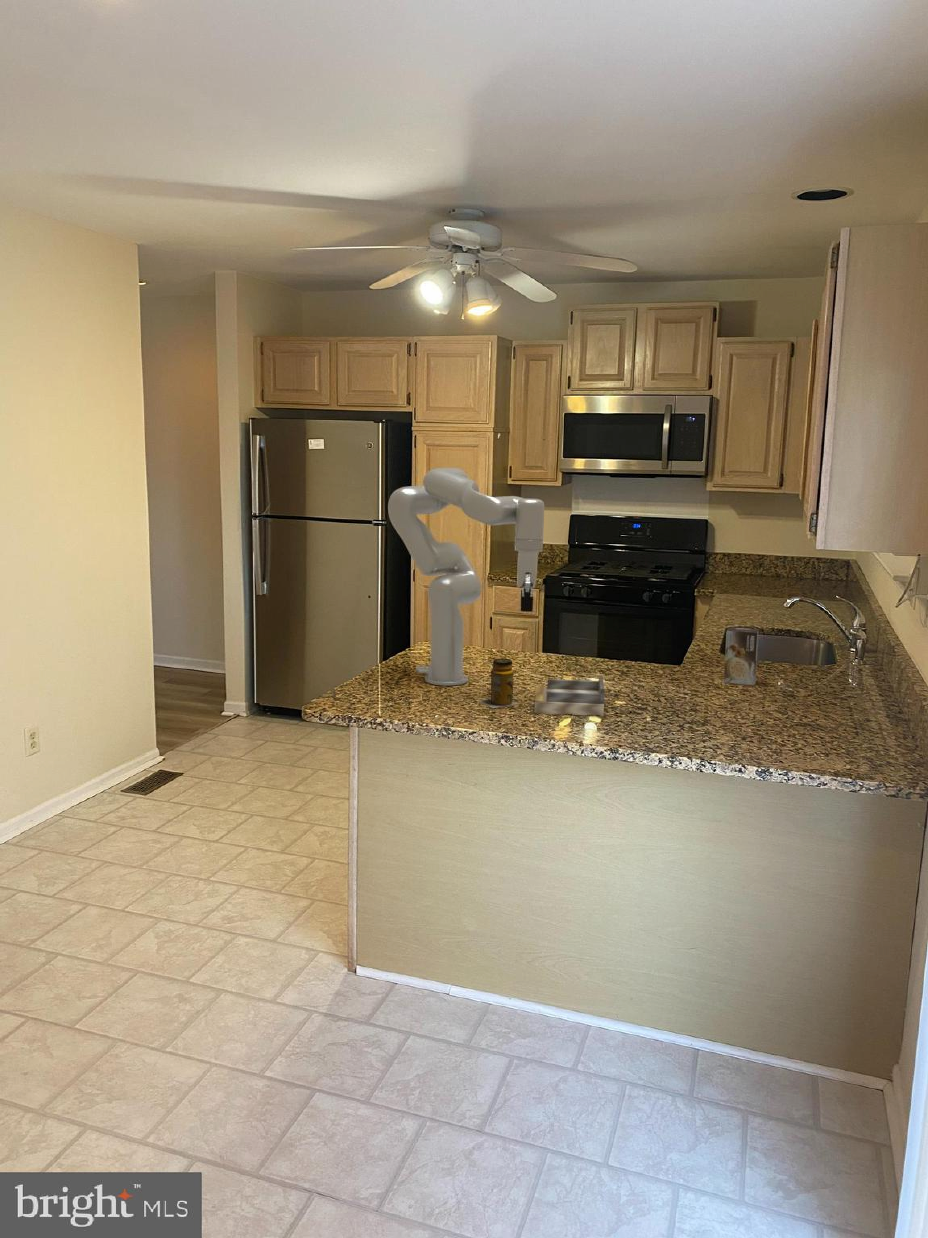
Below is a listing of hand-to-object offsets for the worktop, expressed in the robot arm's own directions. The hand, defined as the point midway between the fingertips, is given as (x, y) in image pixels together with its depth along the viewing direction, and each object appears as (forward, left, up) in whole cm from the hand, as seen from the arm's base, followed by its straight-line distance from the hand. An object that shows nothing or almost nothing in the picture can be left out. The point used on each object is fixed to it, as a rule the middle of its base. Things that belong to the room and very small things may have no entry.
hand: (526, 608), depth 252 cm
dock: (+12, -5, -26) cm, 29 cm away
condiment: (-7, -5, -26) cm, 27 cm away
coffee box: (+63, +29, -26) cm, 74 cm away
